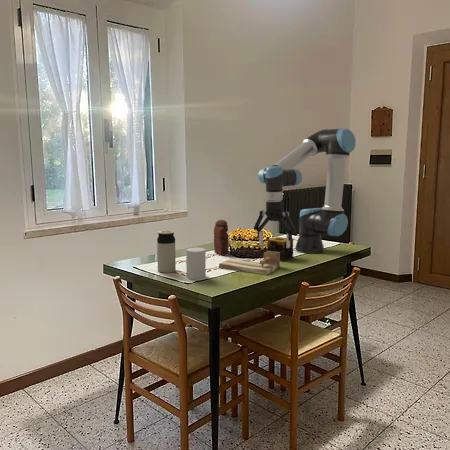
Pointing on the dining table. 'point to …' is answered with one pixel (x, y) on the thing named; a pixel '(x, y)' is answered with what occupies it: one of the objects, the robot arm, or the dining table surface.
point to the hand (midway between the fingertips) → (274, 246)
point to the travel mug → (166, 251)
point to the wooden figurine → (221, 238)
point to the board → (248, 266)
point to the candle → (280, 247)
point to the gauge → (271, 258)
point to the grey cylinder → (196, 263)
